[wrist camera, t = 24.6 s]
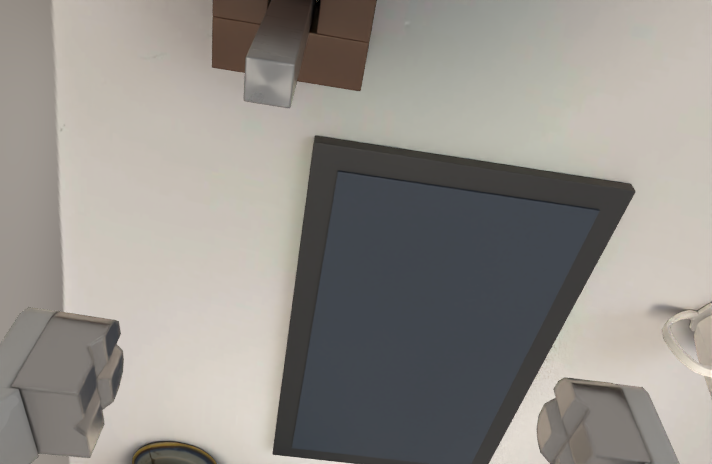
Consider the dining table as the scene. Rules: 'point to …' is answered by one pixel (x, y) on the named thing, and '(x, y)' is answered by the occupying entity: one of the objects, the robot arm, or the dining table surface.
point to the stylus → (278, 53)
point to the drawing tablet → (429, 300)
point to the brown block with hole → (324, 44)
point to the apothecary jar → (171, 454)
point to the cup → (708, 339)
